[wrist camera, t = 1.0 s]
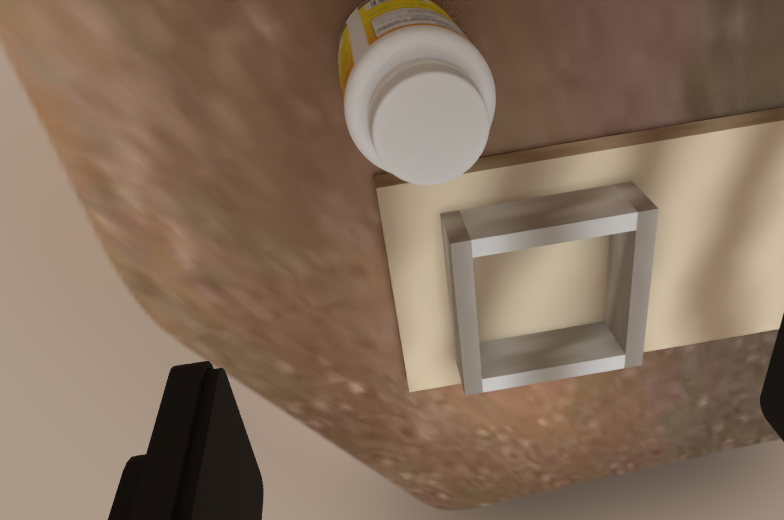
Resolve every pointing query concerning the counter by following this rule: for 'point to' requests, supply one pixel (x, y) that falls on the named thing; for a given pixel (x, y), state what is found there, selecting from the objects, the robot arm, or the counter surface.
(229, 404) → the robot arm
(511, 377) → the socket base
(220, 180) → the counter surface
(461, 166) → the supplement bottle
